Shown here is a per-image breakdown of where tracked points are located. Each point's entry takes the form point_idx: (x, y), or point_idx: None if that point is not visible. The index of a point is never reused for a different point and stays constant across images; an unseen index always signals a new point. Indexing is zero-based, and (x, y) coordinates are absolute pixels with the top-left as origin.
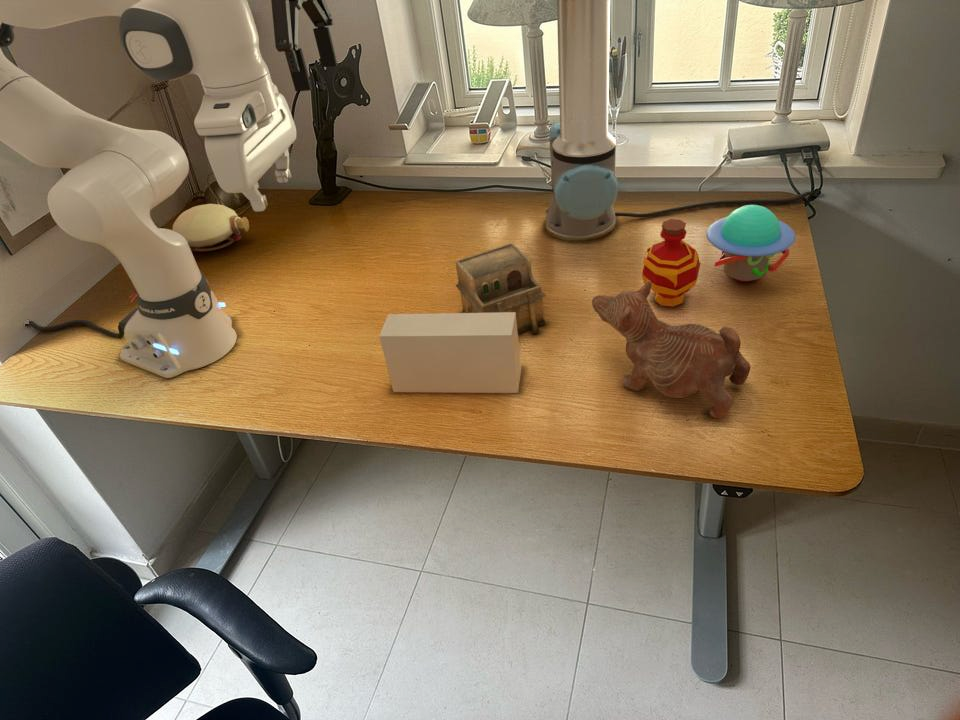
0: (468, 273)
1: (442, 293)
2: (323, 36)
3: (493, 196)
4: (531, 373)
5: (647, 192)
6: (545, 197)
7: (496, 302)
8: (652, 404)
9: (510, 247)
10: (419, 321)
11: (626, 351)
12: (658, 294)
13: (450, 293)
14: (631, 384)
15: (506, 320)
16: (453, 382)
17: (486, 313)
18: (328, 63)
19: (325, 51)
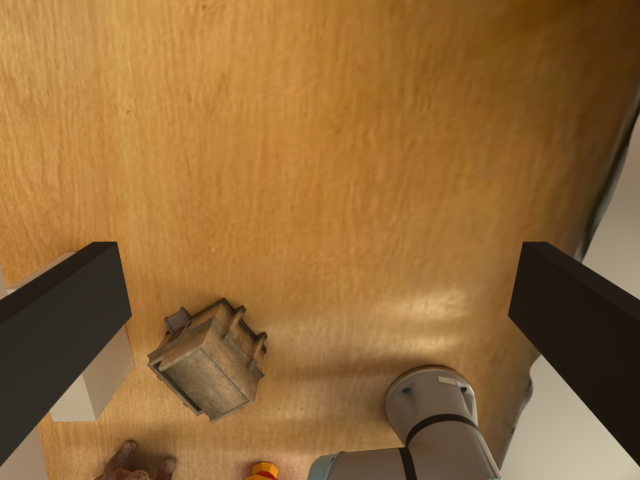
0: (171, 364)
1: (268, 265)
2: (637, 408)
3: None
4: (130, 373)
5: (500, 460)
6: (520, 357)
7: (159, 377)
8: (112, 456)
9: (244, 400)
10: None
11: (115, 474)
12: (262, 469)
13: (268, 275)
14: (120, 451)
15: (77, 415)
16: None
17: (86, 395)
18: (524, 287)
19: (564, 324)
